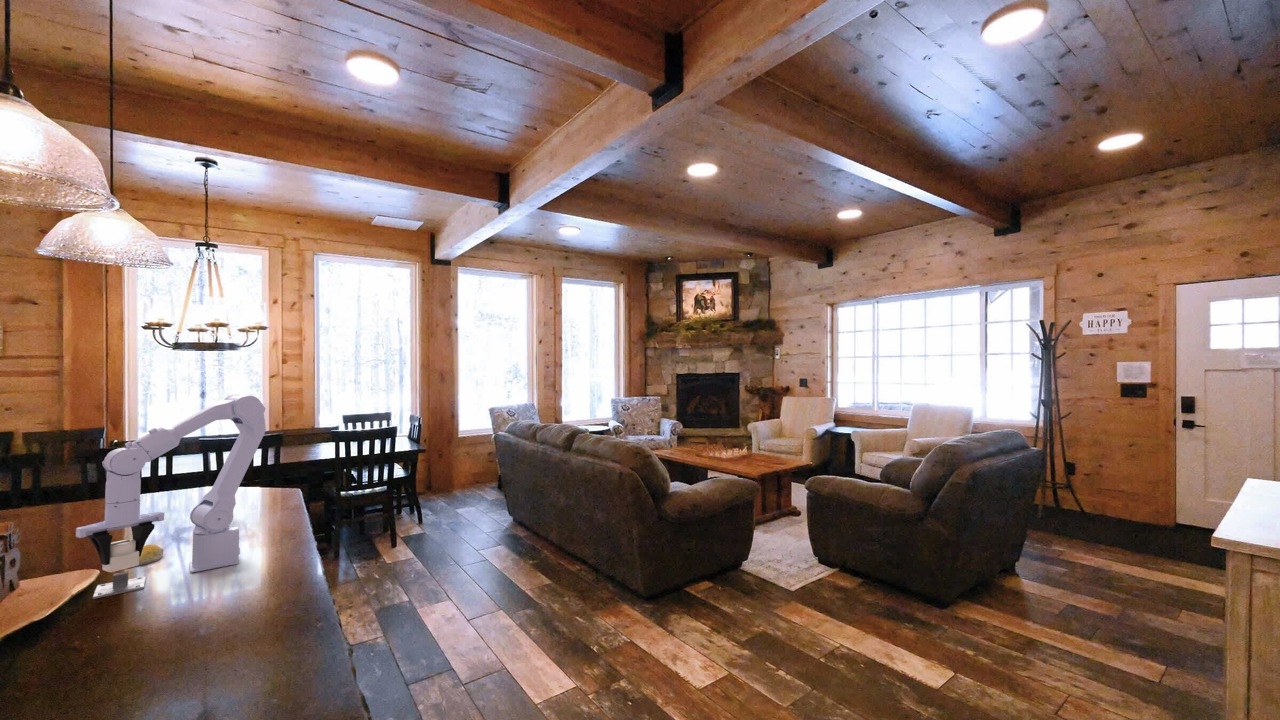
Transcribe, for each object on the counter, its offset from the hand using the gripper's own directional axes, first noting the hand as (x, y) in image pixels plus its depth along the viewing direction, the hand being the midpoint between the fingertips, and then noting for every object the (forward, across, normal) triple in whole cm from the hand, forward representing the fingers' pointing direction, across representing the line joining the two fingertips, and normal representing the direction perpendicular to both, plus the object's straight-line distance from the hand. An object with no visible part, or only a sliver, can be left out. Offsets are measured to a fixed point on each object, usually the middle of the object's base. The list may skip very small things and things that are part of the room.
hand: (121, 560), depth 117 cm
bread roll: (+7, -10, -18) cm, 22 cm away
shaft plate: (+6, 0, 0) cm, 6 cm away
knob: (+2, 0, 0) cm, 2 cm away
